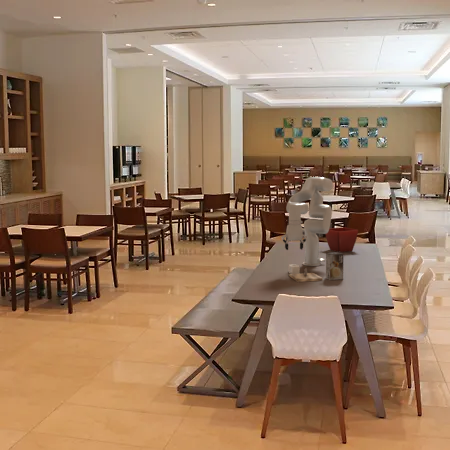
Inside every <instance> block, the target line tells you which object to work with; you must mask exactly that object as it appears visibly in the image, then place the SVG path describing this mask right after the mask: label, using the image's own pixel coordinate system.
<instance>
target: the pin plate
mask: <svg viewBox="0 0 450 450" xmlns="http://www.w3.org/2000/svg"><path fill="white" fill-rule="evenodd" d="M303 271H304V272H302V273H301V272H300V273H299V274H290V273H289V274H288V275H289V276H288V277H290V278H292V279H293V280H294V281H296V282H297V283H298V282H299V283H300V282H318V281H320V280H323V277H322V276H320V275H318V274H316V273H314V272H308V268H304V270H303ZM320 282H321V281H320Z"/></svg>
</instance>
